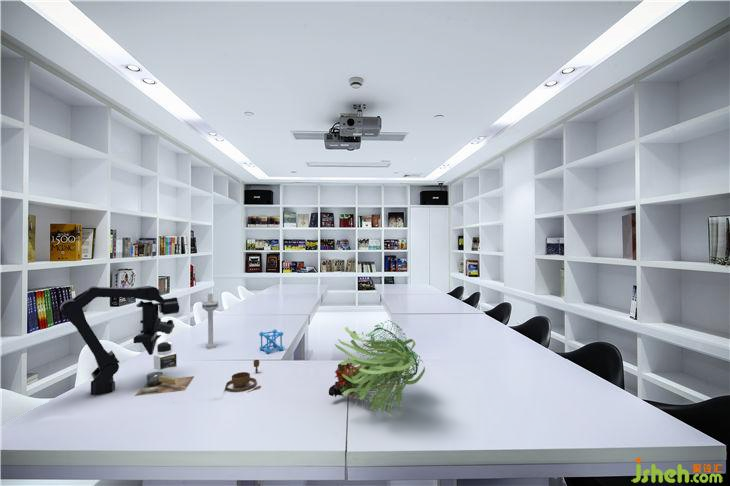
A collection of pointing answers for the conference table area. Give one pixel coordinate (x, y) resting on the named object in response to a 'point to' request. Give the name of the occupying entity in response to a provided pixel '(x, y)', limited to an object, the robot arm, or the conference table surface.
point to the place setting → (243, 380)
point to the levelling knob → (160, 379)
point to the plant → (377, 369)
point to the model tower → (210, 319)
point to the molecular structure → (271, 341)
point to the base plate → (166, 387)
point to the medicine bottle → (165, 356)
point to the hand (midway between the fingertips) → (150, 354)
